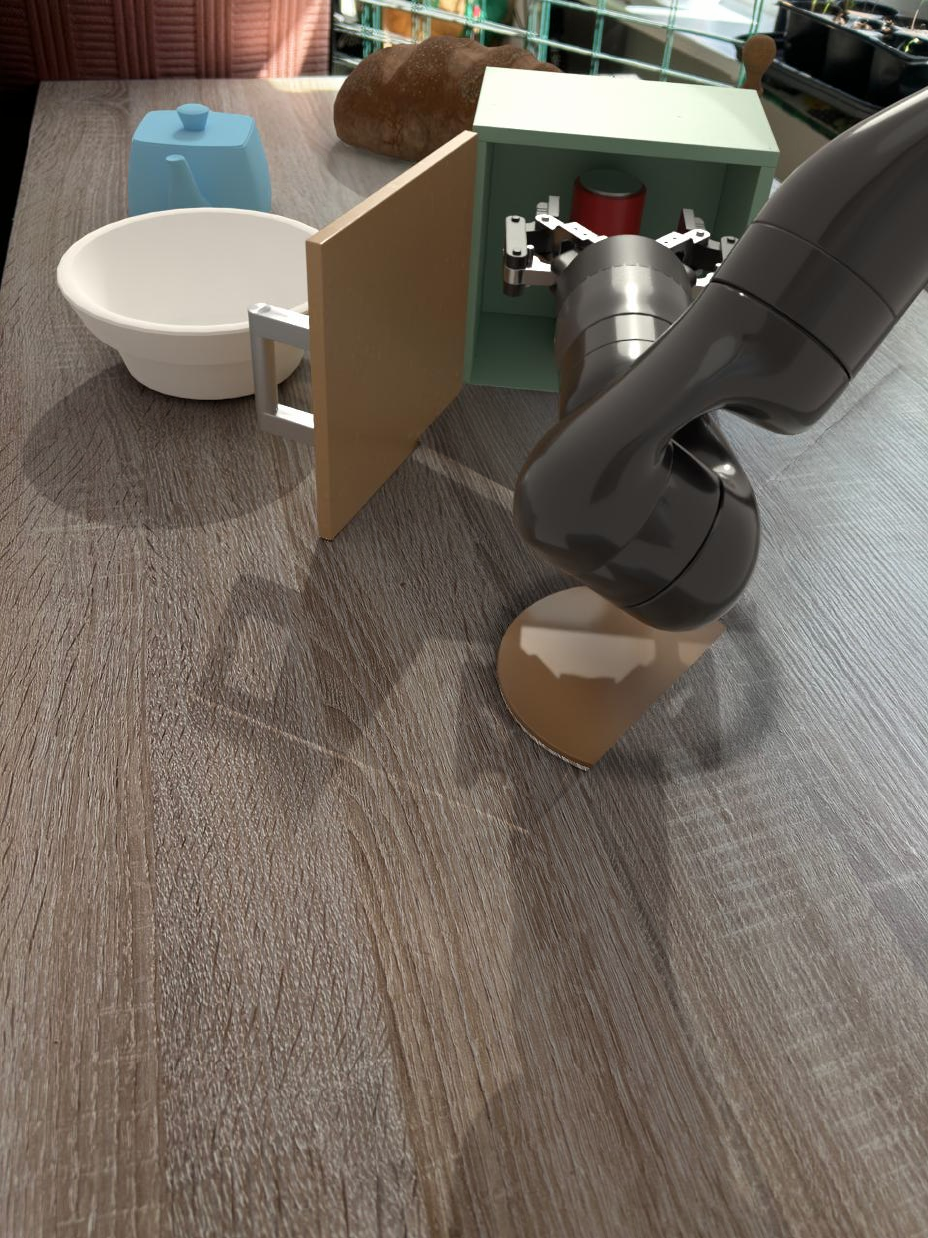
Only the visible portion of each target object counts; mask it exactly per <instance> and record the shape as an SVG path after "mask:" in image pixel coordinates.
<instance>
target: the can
mask: <svg viewBox="0 0 928 1238" xmlns="http://www.w3.org/2000/svg"><path fill="white" fill-rule="evenodd" d="M646 193H647V188H646V186H645V185H644V184H643V183H642V182H641V181H640V180H639V179H638V178H637V177H635V176H633V175H631V174H628V173H625V172H621V171H616V170H592V171H588V172H585V173H584V174H582V175H580V176H578V177H577V178H576V179H575V181H574V186H573V193H572V201H571V209H570V217H569V223H571V222H577V223H578V224H580V225H581V226H583V227H585V228H586V229H588V230H589V231H591V232H593V233H594V234H596V235H598V236H602V235H605V236H607V237H612V236H617V235H638V236H639V233H640V227H641V221H642V216H643V210H644V204H645V198H646ZM576 247H577V245H576ZM554 338H555V336H554Z"/></svg>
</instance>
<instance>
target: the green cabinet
mask: <svg viewBox="0 0 928 1238" xmlns="http://www.w3.org/2000/svg"><path fill="white" fill-rule="evenodd" d="M472 132H475V133H478V144H477V160H476V176H475V191H474V207H473V223H472V238H471V254H470V269H469V285H468V301H467V316H466V332H465V348H464V363H463V379H462V385H463V384H464V385H475V386H486V387H494V388H495V387H496V388H506V389H517V390H528V391H539V392H549V393H558V381H559V380H558V376H557V372H556V366H555V359H554V353H553V341H554V336H555V326H556V299H557V298H556V297H555V296H554V295H553V294H552V293H551V291H550V290H549V287H548V286H540V285H530V286H529V287H524V289H523V294H522V295H521V296H518V297H511V296H507V295H505V294H504V293H503V276H502V254H503V249H504V241H505V221H506V217H508V216H520V217H523V218H524V219H525V221H526V223H531V222H534V221H535V218H536V210H537V204H539V203H540V202H544V203H548V198H549V196H560V199H559V219H558V220H559V221H561V222H562V223H564V224H566V223H569V217H570V209H571V201H572V193H573V186H574V181H575V179H576V178H577V177H578V176H580V175H582V174H584V173H585V172H588V171H592V170H616V171H621V172H625V173H628V174H631V175H633V176H635V177H637V178H638V179H639V180H640V181H641V182H642V183H643V184H644V185H645V186H646V188H647V193H646V198H645V204H644V210H643V216H642V221H641V227H640V233H639V236H643V237H647V238H650V239H653V240H657V239H659V238H661V237H663V236H665V235H668V234H670V233H672V232H674V231H675V232H677V229H678V224H679V219H680V214H681V210H682V208H683V209H693V211H694V216H695V217H699V218H701V219H702V220H703V221H704V225H705V229H706V231H707V232H709V233H710V238H709V239H711V240H713V241H716V242H720V241H721V238H722V237H725V236H732V237H735V238H738V239H739V238H740V237H741V236H742V234H743V233H744V231H745V230H746V229H747V227H748V226H749V225H750V223H751V222H752V220H753V219H754V218H755V216H756V215H757V214H758V212H759V211H760V209H761V208H762V207H763V205H764V204H765V203H766V201H767V200H768V199H769V198H770V196H771V191H772V188H773V183H774V179H775V175H776V171H777V166H778V163H779V158H780V156H781V151H780V148H779V146H778V143H777V140H776V138H775V135H774V133H773V130H772V128H771V125H770V122H769V120H768V117H767V114H766V111H765V109H764V107H763V104H762V102H761V98H760V99H759V96H758V94H757V91H756V90H750V89H739V87H737V88H736V87H725V86H715V85H714V86H713V85H704V84H703V85H702V84H690V83H679V82H670V81H669V82H667V81H659V80H658V81H657V80H647V79H633V78H622V77H615V78H613V76H612V77H610V76H600V75H588V74H577V73H566V72H564V73H555V72H544V71H532V70H521V69H509V68H498V67H486V69H485V74H484V78H483V82H482V87H481V91H480V96H479V100H478V105H477V109H476V114H475V118H474V122H473V130H472ZM709 273H713V272H710V271H706V270H702V273H701V274H700V275H698V276H697V279H703V278H705V277H706V276H707V274H709ZM693 302H694V300H693Z"/></svg>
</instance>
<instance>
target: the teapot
mask: <svg viewBox="0 0 928 1238" xmlns="http://www.w3.org/2000/svg"><path fill="white" fill-rule="evenodd" d="M266 155H267V154H266V153H265V148H264V144H263V141H262V138H261V135H260V132H259V129H258V126H257V124H256V121H255V119H254V118H253V117H252V116H250V115H246V114H239V113H230V112H219V111H213V110H211V109H210V108H209V107H208V106H207V105H204V104H200V103H185V104H182V105H179V106H178V107H176V109H175V110H174V109H173V110H171V109H167V110H166V109H165V110H164V109H163V110H151V111H148V112H147V113H146V115H145V116H144V117H143V118H142V119H141V121H140V123H139V124H138V125H137V128H136V130H135V131H134V133H133V135H132V138H131V144H130V152H129V160H128V171H127V203H128V213H129V218H130V217H134V216H139V215H143V214H148V213H152V212H159V211H167V210H174V209H186V208H233V209H243V210H253V211H259V212H264V213H269V214H271V213H270V212H271V207H272V196H273V195H272V193H273V192H272V182H271V174H270V170H269V164H268V159H267V156H266Z"/></svg>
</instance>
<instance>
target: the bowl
mask: <svg viewBox="0 0 928 1238" xmlns="http://www.w3.org/2000/svg"><path fill="white" fill-rule="evenodd" d="M319 231H320V230H318V229H317V228H314V227H313V226H310V225H308V224H305V223H303V222H301V221H299V220H295V219H292V218H288V217H286V216H283V215H282V216H281V215H279V214H275V213H264V212H259V211H253V210H243V209H233V208H186V209H174V210H167V211H159V212H152V213H148V214H143V215H139V216H134V217H130V216H129V217H126V218H124V219H120V220H118V221H114V222H111V223H108V224H106V225H104V226H102V227H99V228H97V229H95V230H92V231H91V232H88V233H87V234H86V235H84V236H83V237H81V238H79V239H78V240H77V241H75V242H74V243H73V244H71V246H70V247H69V248H68V249H67V250H66V251H65V253H63V255H62V256H61V259H60V260H59V263H58V265H57V268H56V284H57V286H58V289H59V290H60V293H61V294H62V296H63V298H65V300H66V301H67V303H68V304H69V305H70V307H71V308H72V309H73V311H74V312H75V313H76V315H77V316H78V318H79V319H80V320H81V321H82V323H83V324H84V325H85V326H86V328H87V329H88V331H89V332H91V333H92V334H93V335H94V336H95V337H96V338H97V339H98V340H99V341H101V342H102V343H104V344H106V345H107V346H109V347H111V348H112V349H115V350H116V351H118V354H119V356H120V357H121V359H122V360H123V363H124V365H125V366H126V369H127V370H128V372H129V374H130V375H131V376H132V377H133V378H134V379H135V380H136V381H137V382H138V383H140V384H142V385H143V386H145V387H146V388H148V389H150V390H153V391H155V392H158V393H161V394H163V395H167V396H172V397H176V398H181V399H191V400H205V401H206V400H207V401H208V400H211V401H212V400H213V401H214V400H217V401H218V400H226V399H236V398H241V397H245V396H251V395H255V390H254V378H253V367H252V355H251V344H250V332H249V321H248V307H249V306H250V305H252V304H256V303H264V304H268V305H271V306H275V307H278V308H282V309H285V310H289V311H293V312H296V313H300V314H303V315H307V316H309V313H308V291H307V269H306V247H305V241H306V240H307V239H308V238H310V237H311V236H313V235H314V234H316V233H317V232H319ZM274 345H275V360H276V374H277V385H279V384H281V383H282V382H284V381H285V380H287V379H288V378H290V377H291V376H292V374H293V373H294V371H295V370H297V368H298V367H299V366H300V364H301V362H302V359H303V357H304V354H305V351H306V350H304V349H301V348H298V347H294V346H291V345H287V344H284V343H281V342H277V341H274Z"/></svg>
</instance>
